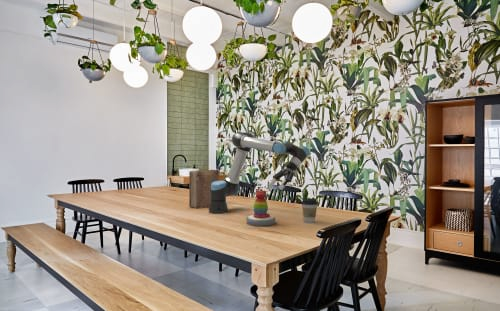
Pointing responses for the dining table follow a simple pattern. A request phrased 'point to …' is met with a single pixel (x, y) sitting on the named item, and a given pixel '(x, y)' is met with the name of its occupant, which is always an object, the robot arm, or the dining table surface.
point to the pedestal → (260, 221)
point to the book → (201, 187)
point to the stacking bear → (260, 205)
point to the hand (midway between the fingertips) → (274, 187)
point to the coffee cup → (309, 210)
